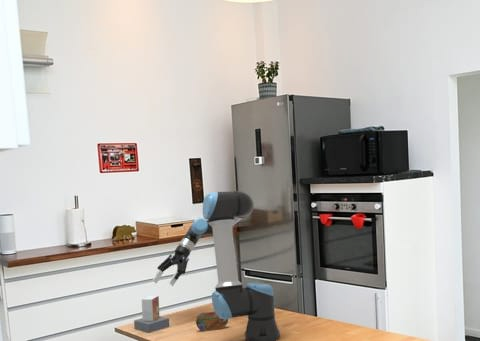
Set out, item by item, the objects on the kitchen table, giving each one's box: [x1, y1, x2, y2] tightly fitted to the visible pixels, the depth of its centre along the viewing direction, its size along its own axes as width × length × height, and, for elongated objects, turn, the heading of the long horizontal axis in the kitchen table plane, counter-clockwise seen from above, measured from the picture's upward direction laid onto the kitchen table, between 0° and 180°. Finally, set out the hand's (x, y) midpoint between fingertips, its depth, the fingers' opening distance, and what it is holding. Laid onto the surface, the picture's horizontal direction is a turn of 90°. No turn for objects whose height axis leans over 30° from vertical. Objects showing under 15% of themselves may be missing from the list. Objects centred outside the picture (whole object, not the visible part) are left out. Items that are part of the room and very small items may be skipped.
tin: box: [195, 310, 229, 332], centre depth 225 cm, size 15×3×8 cm, turn 105°
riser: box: [133, 315, 170, 334], centre depth 233 cm, size 12×12×4 cm
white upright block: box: [141, 295, 160, 321], centre depth 234 cm, size 8×6×10 cm
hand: (162, 283), depth 239 cm, fingers open, 13 cm apart
